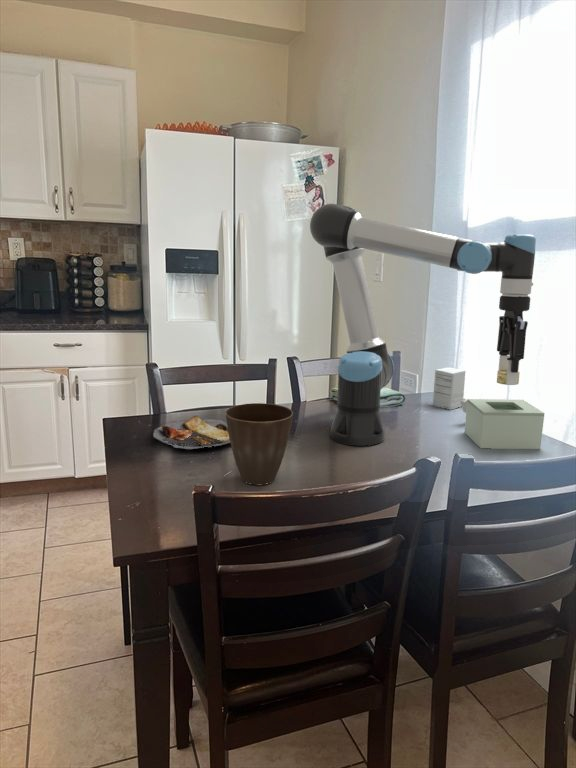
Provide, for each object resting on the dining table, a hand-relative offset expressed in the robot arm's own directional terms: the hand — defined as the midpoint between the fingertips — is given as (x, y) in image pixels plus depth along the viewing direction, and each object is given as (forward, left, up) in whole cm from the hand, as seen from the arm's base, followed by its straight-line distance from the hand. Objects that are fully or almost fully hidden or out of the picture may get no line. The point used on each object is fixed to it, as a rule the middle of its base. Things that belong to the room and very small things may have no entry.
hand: (507, 381), depth 156 cm
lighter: (-4, +16, -17) cm, 24 cm away
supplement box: (-5, +36, -17) cm, 40 cm away
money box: (0, 0, -17) cm, 17 cm away
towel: (-32, +41, -18) cm, 55 cm away
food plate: (-84, -1, -18) cm, 86 cm away
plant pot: (-66, -30, -17) cm, 74 cm away
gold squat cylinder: (0, 0, 0) cm, 0 cm away
